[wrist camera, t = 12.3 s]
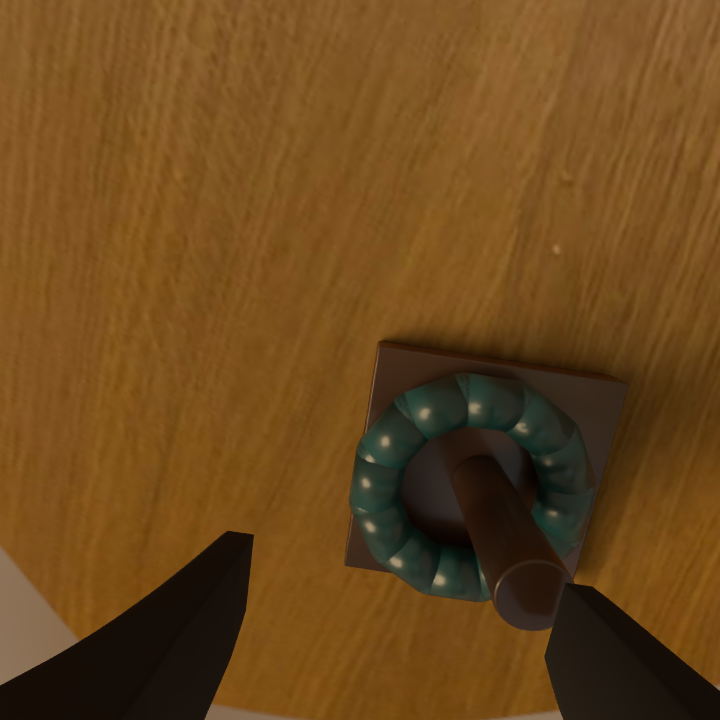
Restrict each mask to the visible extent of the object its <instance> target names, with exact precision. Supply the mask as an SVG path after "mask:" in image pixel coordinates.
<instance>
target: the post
mask: <svg viewBox="0 0 720 720" xmlns="http://www.w3.org/2000/svg"><path fill="white" fill-rule="evenodd" d="M461 372H464V373H472V374H479V375H485V376H492V377H499V378H505V379H512V380H519V381H523V382H525V383H528V384H529V385H531V386H532V387H534V388H535V389H536V390H537V391H539V392H540V393H541V394H542V395H544V396H545V397H546V398H547V399H548V400H550V401H551V402H552V403H553V404H555V405H556V406H557V407H558V408H560V409H561V410H562V411H563V412H564V413H566V414H567V415H568V416H569V417H571V418H572V419H573V420H574V421H575V422H576V423H577V425H578V426H579V429H580V431H581V434H582V437H583V440H584V443H585V446H586V449H587V452H588V456H589V459H590V462H591V465H592V468H593V471H594V474H595V478H596V483H597V487H596V493H595V496H594V500H593V503H592V507H591V511H590V514H589V518H588V521H587V525H586V528H585V532H584V536H583V539H582V541H581V543H580V544H579V546H578V547H577V548H576V549H575V550H574V551H573V552H572V553H571V554H570V555H569V556H568V557H567V558H566V559H565V560H564V561H563V562H562V561H561V559H560V558H559V556H558V555H557V553H556V551H555V550H554V548H553V547H552V545H551V544H550V542H549V540H548V539H547V537H546V536H545V534H544V533H543V531H542V529H541V528H540V526H539V525H538V523H537V522H536V520H535V518H534V517H533V515H532V514H531V510H532V506H533V502H534V498H535V494H536V490H537V486H538V482H539V479H538V476H537V474H536V471H535V468H534V465H533V462H532V459H531V456H530V453H529V452H528V451H527V450H526V449H525V448H523V447H522V446H521V445H520V444H518V443H517V442H516V441H514V440H513V439H512V438H511V437H509V436H508V435H507V434H506V433H504V432H502V431H495V430H488V429H482V428H475V427H468V426H466V427H463V428H460V429H457V430H455V431H452V432H449V433H446V434H443V435H441V436H438V437H435V438H432V439H429V440H428V442H427V443H426V444H425V445H424V446H423V447H422V448H421V450H420V451H419V452H418V453H417V454H416V455H415V456H414V457H413V459H412V460H411V461H410V462H409V463H408V464H407V465H406V467H405V473H404V479H403V484H402V490H401V495H400V497H401V500H402V502H403V505H404V507H405V510H406V512H407V514H408V517H409V519H410V522H411V524H413V525H414V526H415V527H417V528H418V529H419V530H421V531H422V532H423V533H425V534H426V535H427V536H429V537H430V538H431V539H433V540H434V541H435V542H437V543H444V544H450V545H457V546H463V547H470V548H472V547H474V550H475V553H476V555H477V558H478V561H479V564H480V567H481V570H482V572H483V575H484V578H485V581H486V584H487V587H488V590H489V592H490V595H491V598H492V601H493V604H494V607H495V609H496V611H497V612H498V614H499V615H500V616H501V618H502V619H503V620H505V621H506V622H507V623H508V624H510V625H511V626H513V627H516V628H518V629H521V630H526V631H540V630H545V629H549V628H551V627H553V625H554V621H555V617H556V614H557V610H558V607H559V603H560V600H561V596H562V592H563V589H564V585H565V583H572V584H575V583H574V581H573V579H574V575H575V572H576V568H577V565H578V561H579V558H580V554H581V551H582V547H583V544H584V540H585V537H586V533H587V530H588V526H589V523H590V519H591V516H592V512H593V509H594V505H595V502H596V498H597V495H598V491H599V488H600V484H601V480H602V477H603V473H604V470H605V466H606V463H607V459H608V456H609V452H610V449H611V445H612V442H613V438H614V435H615V431H616V428H617V424H618V421H619V417H620V414H621V410H622V407H623V403H624V400H625V396H626V393H627V389H628V386H629V384H628V383H626V382H624V381H622V380H619V379H617V378H615V377H613V376H609V375H602V374H596V373H589V372H582V371H576V370H569V369H563V368H556V367H549V366H543V365H536V364H529V363H523V362H516V361H509V360H503V359H496V358H490V357H483V356H476V355H470V354H463V353H456V352H450V351H443V350H436V349H430V348H423V347H417V346H410V345H403V344H397V343H390V342H383V341H379V342H378V346H377V353H376V359H375V365H374V372H373V378H372V384H371V391H370V397H369V403H368V410H367V416H366V422H365V429H364V434H365V433H366V432H367V431H368V430H369V428H370V427H371V426H372V425H373V424H374V423H375V421H376V420H377V419H378V418H379V417H380V415H381V414H382V413H383V412H384V411H385V409H386V408H387V407H388V406H389V405H390V404H391V402H392V401H393V400H394V399H395V398H396V397H397V396H398V395H400V394H402V393H404V392H406V391H409V390H412V389H414V388H417V387H420V386H422V385H425V384H428V383H430V382H433V381H436V380H438V379H441V378H444V377H447V376H449V375H452V374H455V373H461ZM363 436H364V435H363ZM344 565H345V566H350V567H356V568H363V569H369V570H376V571H382V572H389V573H392V572H391V571H389V570H388V569H386V568H385V567H384V566H382V565H381V564H380V563H378V562H377V561H376V560H375V559H374V558H373V557H372V555H371V553H370V551H369V549H368V547H367V544H366V542H365V540H364V538H363V535H362V533H361V531H360V529H359V526H358V524H357V522H356V519H355V517H354V515H353V513H352V511H351V518H350V524H349V531H348V537H347V543H346V551H345V560H344Z"/></svg>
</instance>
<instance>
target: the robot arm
mask: <svg viewBox="0 0 720 720" xmlns="http://www.w3.org/2000/svg"><path fill="white" fill-rule="evenodd" d="M253 539H254V535H252V534H246V533H239V532H233V531H227V532H225V533H224V534H222V535H221V536H220V537H219V538H218V539H217V540H215V541H214V542H213V543H212V544H211V545H210V546H208V547H207V548H206V549H205V550H204V551H203V552H201V553H200V554H199V555H198V556H197V557H195V558H194V559H193V560H192V561H191V562H189V563H188V564H187V565H186V566H185V567H183V568H182V569H181V570H180V571H178V572H177V573H176V574H174V575H173V576H172V577H171V578H169V579H168V580H167V581H166V582H164V583H163V584H162V585H161V586H159V587H158V588H157V589H155V590H154V591H153V592H151V593H150V594H149V595H147V596H146V597H144V598H143V599H142V600H140V601H139V602H138V603H136V604H135V605H133V606H132V607H131V608H129V609H128V610H126V611H125V612H124V613H122V614H121V615H119V616H118V617H117V618H115V619H114V620H112V621H111V622H109V623H108V624H106V625H105V626H103V627H102V628H100V629H99V630H97V631H95V632H94V633H92V634H91V635H89V636H88V637H86V638H84V639H83V640H81V641H80V642H78V643H76V644H75V645H73V646H71V647H70V648H68V649H66V650H65V651H63V652H61V653H60V654H58V655H56V656H54V657H53V658H51V659H49V660H47V661H45V662H43V663H41V664H40V665H38V666H36V667H34V668H32V669H30V670H28V671H27V672H25V673H23V674H21V675H19V676H17V677H15V678H13V679H12V680H10V681H8V682H6V683H4V684H2V685H0V720H204V719H205V717H206V714H207V712H208V710H209V708H210V705H211V703H212V701H213V698H214V696H215V694H216V691H217V689H218V687H219V684H220V682H221V680H222V677H223V675H224V673H225V670H226V668H227V666H228V663H229V661H230V659H231V656H232V653H233V650H234V647H235V643H236V640H237V637H238V634H239V631H240V628H241V625H242V621H243V618H244V615H245V612H246V604H247V595H248V585H249V576H250V567H251V557H252V548H253ZM544 658H545V661H546V665H547V669H548V672H549V676H550V680H551V683H552V687H553V690H554V693H555V697H556V700H557V703H558V706H559V710H560V712H561V715H562V717H563V720H720V691H719V690H718V689H717V688H716V687H714V686H713V685H712V684H711V683H709V682H708V681H707V680H706V679H704V678H703V677H702V676H701V675H699V674H698V673H697V672H696V671H694V670H693V669H692V668H691V667H690V666H688V665H687V664H686V663H685V662H683V661H682V660H681V659H680V658H679V657H677V656H676V655H675V654H674V653H673V652H671V651H670V650H669V649H668V648H667V647H665V646H664V645H663V644H662V643H661V642H659V641H658V640H657V639H656V638H655V637H654V636H652V635H651V634H650V633H649V632H648V631H646V630H645V629H644V628H643V627H642V626H640V625H639V624H638V623H637V622H636V621H635V620H633V619H632V618H631V617H630V616H629V615H627V614H626V613H625V612H624V611H623V610H621V609H620V608H619V607H618V606H616V605H615V604H614V603H613V602H612V601H610V600H609V599H608V598H606V597H605V596H604V595H603V594H601V593H600V592H599V591H597V590H596V589H595V588H593V587H591V586H585V585H578V584H572V583H565V585H564V589H563V592H562V596H561V600H560V603H559V607H558V610H557V614H556V617H555V621H554V625H553V628H552V632H551V635H550V639H549V642H548V646H547V650H546V653H545V657H544Z"/></svg>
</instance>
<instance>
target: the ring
mask: <svg viewBox="0 0 720 720" xmlns="http://www.w3.org/2000/svg"><path fill="white" fill-rule="evenodd" d="M466 426H468V427H475V428H482V429H488V430H495V431H502V432H504V433H506V434H507V435H508V436H509V437H511V438H512V439H513V440H514V441H516V442H517V443H518V444H520V445H521V446H522V447H523V448H525V449H526V450H527V451H528V452H529V453H530V456H531V459H532V462H533V465H534V468H535V471H536V474H537V476H538V479H539V482H538V486H537V490H536V494H535V498H534V502H533V506H532V510H531V514H532V515H533V517H534V518H535V520H536V522H537V523H538V525H539V526H540V528H541V529H542V531H543V533H544V534H545V536H546V537H547V539H548V540H549V542H550V544H551V545H552V547H553V548H554V550H555V551H556V553H557V555H558V556H559V558H560V559H561V561H562V562H563V561H564V560H565V559H566V558H567V557H568V556H569V555H570V554H571V553H572V552H573V551H574V550H575V549H576V548H577V547H578V546H579V544H580V543H581V541H582V539H583V536H584V532H585V528H586V525H587V521H588V518H589V514H590V511H591V507H592V503H593V500H594V496H595V493H596V487H597V483H596V478H595V474H594V471H593V468H592V465H591V462H590V459H589V456H588V452H587V449H586V446H585V443H584V440H583V437H582V434H581V431H580V429H579V426H578V425H577V423H576V422H575V421H574V420H573V419H572V418H571V417H569V416H568V415H567V414H566V413H564V412H563V411H562V410H561V409H560V408H558V407H557V406H556V405H555V404H553V403H552V402H551V401H550V400H548V399H547V398H546V397H545V396H544V395H542V394H541V393H540V392H539V391H537V390H536V389H535V388H534V387H532V386H531V385H529V384H528V383H525V382H523V381H519V380H512V379H505V378H499V377H492V376H485V375H479V374H472V373H464V372H461V373H455V374H452V375H449V376H447V377H444V378H441V379H438V380H436V381H433V382H430V383H428V384H425V385H422V386H420V387H417V388H414V389H412V390H409V391H406V392H404V393H402V394H400V395H398V396H397V397H396V398H395V399H394V400H393V401H392V402H391V404H390V405H389V406H388V407H387V408H386V409H385V411H384V412H383V413H382V414H381V415H380V417H379V418H378V419H377V420H376V421H375V423H374V424H373V425H372V426H371V427H370V428H369V430H368V431H367V432H366V433H365V434H364V436H363V437H362V438H361V439H360V441H359V443H358V446H357V450H356V456H355V463H354V469H353V476H352V482H351V489H350V495H349V503H350V507H351V510H352V513H353V515H354V517H355V519H356V522H357V524H358V526H359V529H360V531H361V533H362V535H363V538H364V540H365V542H366V544H367V547H368V549H369V551H370V553H371V555H372V557H373V558H374V559H375V560H376V561H377V562H378V563H380V564H381V565H382V566H384V567H385V568H386V569H388V570H389V571H391V572H392V573H393V574H395V575H396V576H397V577H399V578H400V579H402V580H403V581H404V582H406V583H407V584H409V585H410V586H411V587H413V588H414V589H415V590H417V591H419V592H420V593H423V594H427V595H432V596H439V597H446V598H452V599H459V600H465V601H472V602H485V601H488V600H492V598H491V595H490V592H489V590H488V587H487V584H486V581H485V578H484V575H483V572H482V570H481V567H480V564H479V561H478V558H477V555H476V553H475V550H474V547H472V548H470V547H463V546H457V545H450V544H444V543H437V542H435V541H434V540H433V539H431V538H430V537H429V536H427V535H426V534H425V533H423V532H422V531H421V530H419V529H418V528H417V527H415V526H414V525H413V524H411V522H410V519H409V517H408V514H407V512H406V510H405V507H404V505H403V502H402V500H401V497H400V495H401V490H402V484H403V479H404V473H405V467H406V465H407V464H408V463H409V462H410V461H411V460H412V459H413V457H414V456H415V455H416V454H417V453H418V452H419V451H420V450H421V448H422V447H423V446H424V445H425V444H426V443H427V442H428V440H429V439H432V438H435V437H438V436H441V435H443V434H446V433H449V432H452V431H455V430H457V429H460V428H463V427H466Z"/></svg>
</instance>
